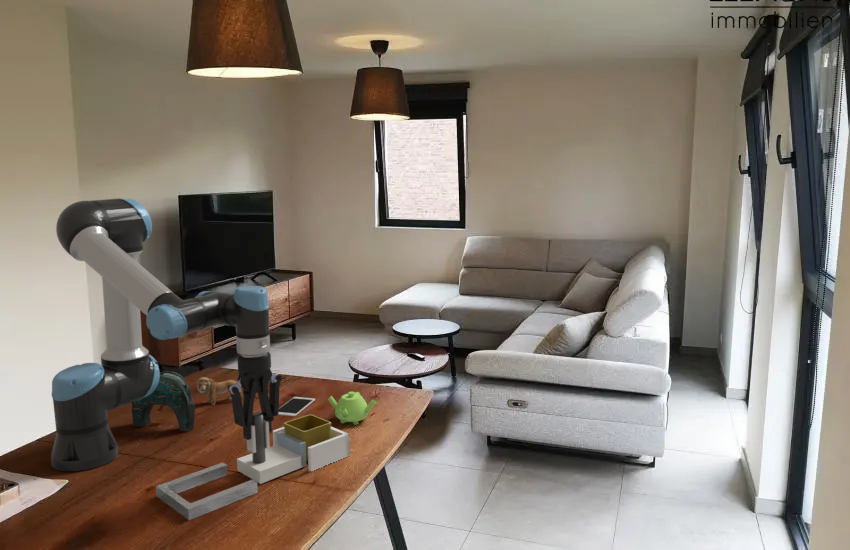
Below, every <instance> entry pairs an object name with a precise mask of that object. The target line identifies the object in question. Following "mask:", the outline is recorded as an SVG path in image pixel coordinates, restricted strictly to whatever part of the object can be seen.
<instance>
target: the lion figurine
mask: <svg viewBox="0 0 850 550" xmlns="http://www.w3.org/2000/svg"><path fill="white" fill-rule="evenodd" d="M236 382H237V381H236V380H234V379H227V380H225V381H220V382H219V381H216V380H215V379H214V378H213V379H212V378H209V377H204V376H202V377H200V378H199V379H198V380H196V389H197V391H198V392H199V393H201V394H203V395H204V396H205V397H208V398H209V400H208V401H207V403H208V404H210V406H215V405H216V402H217V400H216V397H217V395H221V394H226V392H229V390H228V386H229V385H234V384H235V383H236ZM241 388H242V387H240V389H241ZM240 394H241V398H242V399H243V398H244V395H243V390H242V389H241V392H240ZM227 400H232V399H231V395H230V396H229V397H227Z"/></svg>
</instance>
